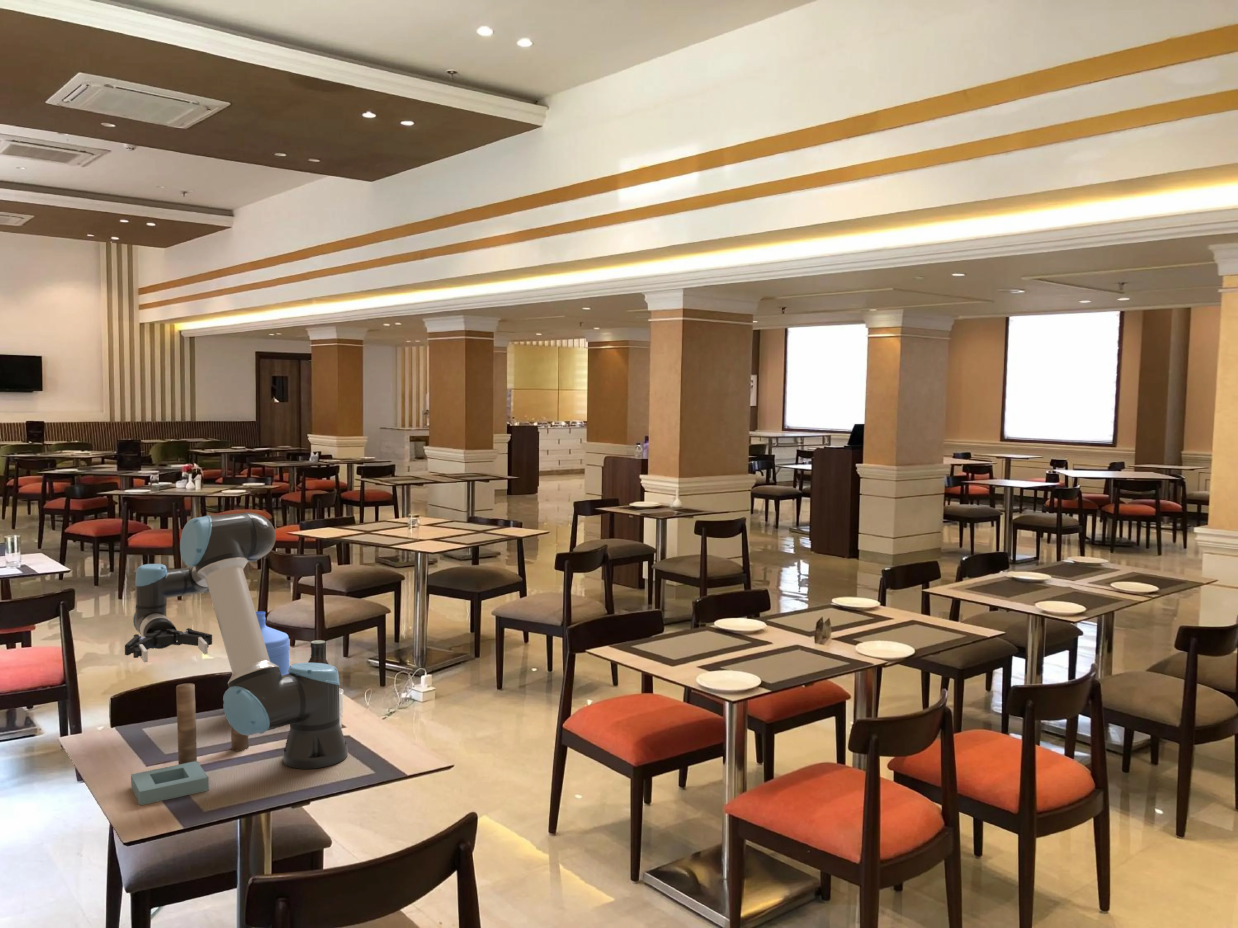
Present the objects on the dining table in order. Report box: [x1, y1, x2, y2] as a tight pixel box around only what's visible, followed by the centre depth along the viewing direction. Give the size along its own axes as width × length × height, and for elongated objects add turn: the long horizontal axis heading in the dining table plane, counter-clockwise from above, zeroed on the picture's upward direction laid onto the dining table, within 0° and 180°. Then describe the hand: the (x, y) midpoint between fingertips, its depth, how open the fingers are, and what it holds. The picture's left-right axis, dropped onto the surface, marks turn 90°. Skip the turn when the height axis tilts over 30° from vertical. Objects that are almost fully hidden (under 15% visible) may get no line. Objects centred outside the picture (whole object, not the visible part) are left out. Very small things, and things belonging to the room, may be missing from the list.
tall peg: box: [175, 682, 198, 765], centre depth 227 cm, size 4×4×20 cm
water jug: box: [255, 610, 290, 675], centre depth 270 cm, size 16×16×28 cm
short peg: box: [230, 725, 249, 752], centre depth 241 cm, size 4×4×9 cm
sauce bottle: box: [307, 639, 330, 665], centre depth 270 cm, size 7×6×20 cm
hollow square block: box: [130, 760, 210, 806], centre depth 216 cm, size 12×14×3 cm
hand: (176, 652), depth 234 cm, fingers open, 13 cm apart
